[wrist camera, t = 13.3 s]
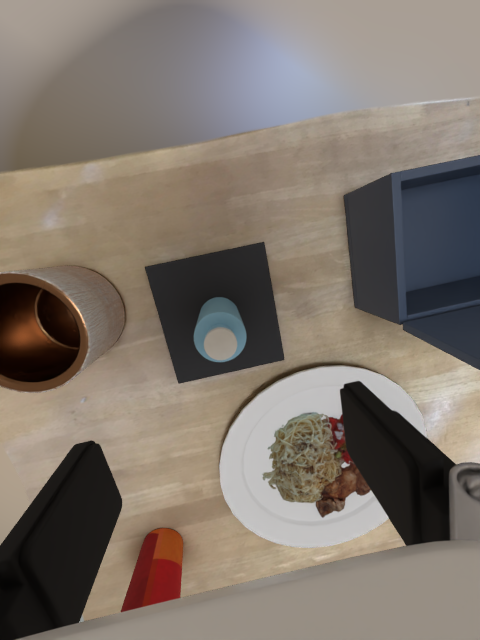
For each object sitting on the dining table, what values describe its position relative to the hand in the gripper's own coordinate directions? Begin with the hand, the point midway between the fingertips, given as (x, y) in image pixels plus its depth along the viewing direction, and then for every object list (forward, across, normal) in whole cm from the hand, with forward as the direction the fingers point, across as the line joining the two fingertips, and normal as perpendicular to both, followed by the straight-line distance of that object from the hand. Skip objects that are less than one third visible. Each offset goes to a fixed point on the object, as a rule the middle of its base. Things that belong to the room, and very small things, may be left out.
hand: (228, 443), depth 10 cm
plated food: (+24, -10, +25) cm, 36 cm away
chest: (+24, -27, -3) cm, 36 cm away
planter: (+24, +16, -3) cm, 29 cm away
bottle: (+23, 0, +1) cm, 23 cm away
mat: (+24, 0, +1) cm, 24 cm away
